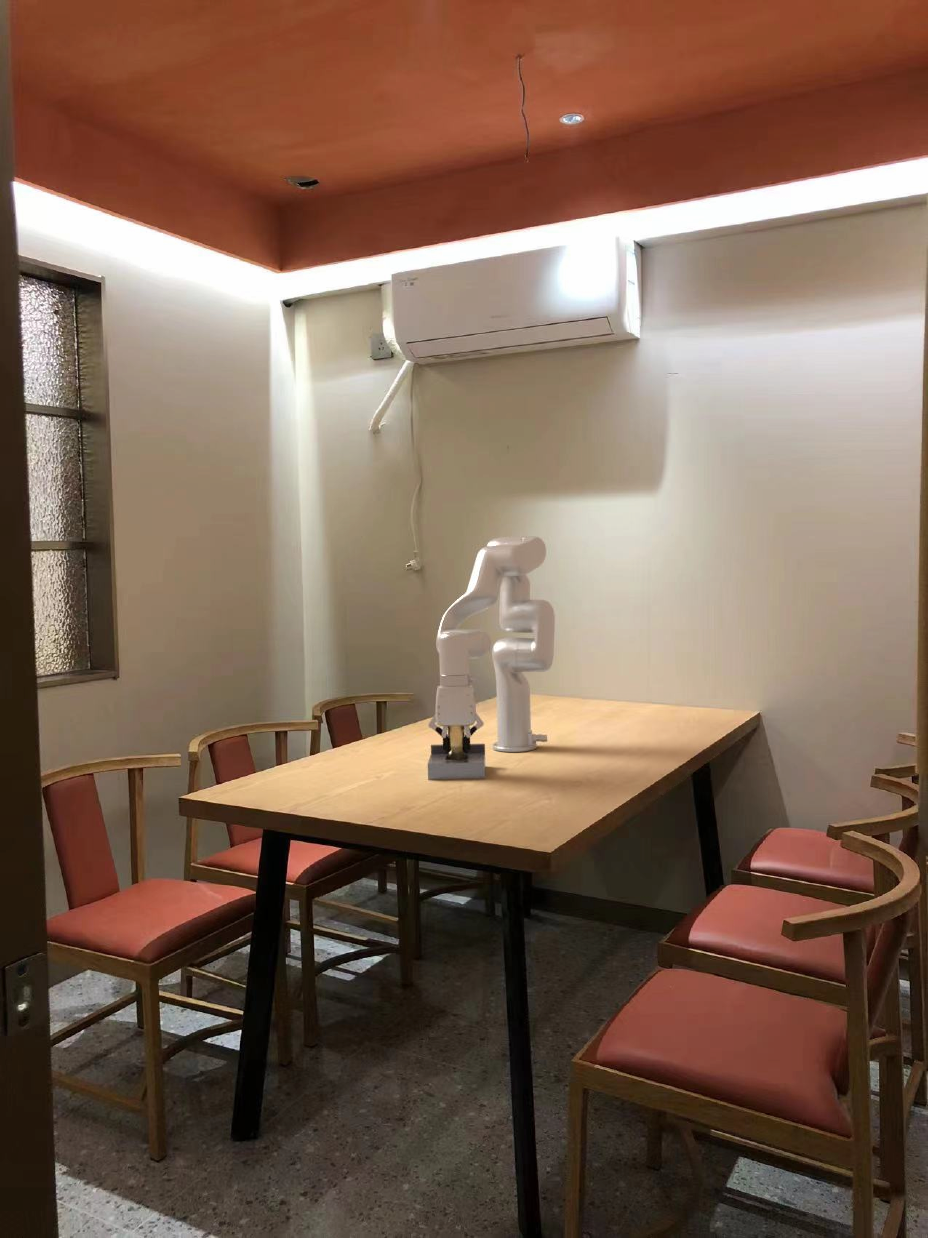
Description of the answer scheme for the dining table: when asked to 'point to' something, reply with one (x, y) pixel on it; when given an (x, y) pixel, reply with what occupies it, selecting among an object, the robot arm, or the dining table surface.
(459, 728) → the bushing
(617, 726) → the dining table surface
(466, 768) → the jig
